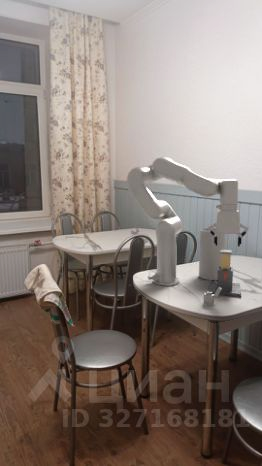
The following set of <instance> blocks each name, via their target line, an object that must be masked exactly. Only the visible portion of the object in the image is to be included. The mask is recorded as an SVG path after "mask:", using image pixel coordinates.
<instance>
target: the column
mask: <svg viewBox="0 0 262 466" xmlns="http://www.w3.org/2000/svg"><path fill="white" fill-rule="evenodd" d="M232 252H233V251H232V249H225V250H221V253H220V254H221V270H223V268H225V269H228V270H230V267H231V258H232V257H231V255H232V254H233V253H232Z"/></svg>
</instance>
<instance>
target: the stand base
mask: <svg viewBox="0 0 262 466" xmlns="http://www.w3.org/2000/svg"><path fill="white" fill-rule="evenodd" d="M233 279H234V267H233V266H230V270H228V269H225V268H223V270H221V266H218V275H217V280H216V281H214V280H209V283H208V291H207V292H212V294H215V293H216V291H217V289H218V288H219V287H220V288H222V290H221V291H220V293H219V295H218V296H224V297H236V298H242V289H241V283H236V282H233Z"/></svg>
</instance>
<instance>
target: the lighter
mask: <svg viewBox="0 0 262 466" xmlns="http://www.w3.org/2000/svg"><path fill="white" fill-rule="evenodd" d="M221 290H222V288H220V287H219V288H218V289H217V291H216V293H215V294H212V292H208V291H206V292H204V293H203V303H202V304H203V305H206V306H213V307H214V305H215V299H216V298H217V297H218V296H220V295H219V293H220V291H221Z"/></svg>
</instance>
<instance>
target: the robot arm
mask: <svg viewBox="0 0 262 466" xmlns="http://www.w3.org/2000/svg"><path fill="white" fill-rule="evenodd" d="M163 178H164V179H166V180H168V181H171V182H173V183H176V184H178V185H180V186H181V187H183V188H185V189H187V190H188V191H191V192H193V193H195V194H197V195H199V196H202V197H206V198H210V197H215V196H219V204H217V205H215V206H216V209H218V210H217V214H216V220H215V221H216V222H215V223H214V224H210V225H209V226H208V227H207V228H208V229H209V231H210V233H211V234H212V235H213V236H214V244H216V246H217V237H218V236H217V235H218V234H219V233H220V234H226V235H227V234H228V235H232V234H233V235H237V236H238V237H237V247H240V245H242V238H243V237H245V235H246V234H247V232H249V227H248V226H246V225H244V224H242V223H241V215H240V210H238V200H239V199H238V198H239V197H238V196H239V194H238V193H239V181H238V180H237V179H234V178H228V179H227V178H226V179H218V178H217V179H216V178H206V177H204V176H202V175H199V174H197V173H195V172H193V171H192V170H191V169H190V168H189V167H187V166H185V165H182V164H180V163H178V162H175V161H174V160H173V159H171V158H169V157H163V156H162V157H157V158H155V160H154V161H153V162H152V164H150V165H148V166H137V167H133V168H132V169H130V171H129V172H128V173H127V176H126V187H127V191H128V192H129V193H130V194H131V196H132V198H133V199H134V200H135V201H136V203H137V205H138V206H139V208H140V209H141V210H142V211H143V213H144V214H145V216H146V217H147V219H149V220H150V221H159V222H158V223H157V224H156V227H155V237H156V272H154V274H153V275H147V280H149V281H150V280H152V281H153V283H155V284H156V285H159V286H163V287H164V286H166V287H167V286H170V287H171V286H176V285H178V284H179V283H180V279H179V278H178V277H177V256H178V255H177V254H178V251H177V250H178V249H177V238H176V236H177V235H179V234H180V233H181V231H182V230H183V223H182V220H181V219H180V218H179V216H178V215H177V214H176V212H175V210H174V209H173V208H172V206H171V205H170V204H169V203H168V202H167V201H165V200H163V199H157V198H156V197H155V195H154V194H153V193H152V191H151V190H150V189H149V188H148V187H147V186H146V185H148V184H152V183H154V182H157V181H159V180H161V179H163ZM212 228H216V232H215V233H214V232H213V231H212ZM241 228H242V229H243V230H242V232H241Z"/></svg>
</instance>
